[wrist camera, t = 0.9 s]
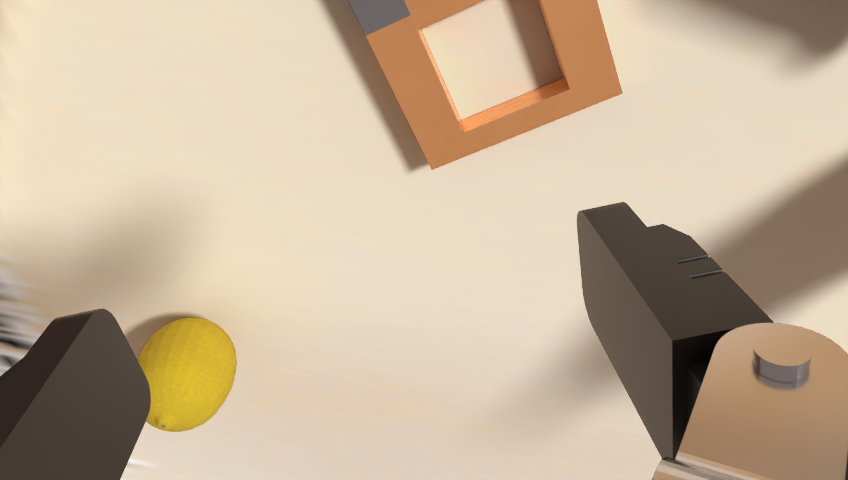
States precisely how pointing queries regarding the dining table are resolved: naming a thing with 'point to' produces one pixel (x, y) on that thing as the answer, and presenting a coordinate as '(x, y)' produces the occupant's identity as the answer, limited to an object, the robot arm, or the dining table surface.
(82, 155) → the dining table surface
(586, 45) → the rail
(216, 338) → the lemon
